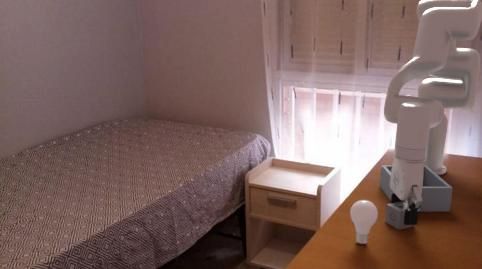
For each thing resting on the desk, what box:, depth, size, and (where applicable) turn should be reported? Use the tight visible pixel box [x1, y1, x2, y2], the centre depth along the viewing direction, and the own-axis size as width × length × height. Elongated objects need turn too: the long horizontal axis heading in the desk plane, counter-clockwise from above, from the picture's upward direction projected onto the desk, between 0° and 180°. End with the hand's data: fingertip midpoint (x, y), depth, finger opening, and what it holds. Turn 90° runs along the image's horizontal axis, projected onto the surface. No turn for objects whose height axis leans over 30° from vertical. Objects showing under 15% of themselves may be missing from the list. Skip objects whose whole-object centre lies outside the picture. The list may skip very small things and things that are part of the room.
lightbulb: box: [349, 199, 379, 245], centre depth 108 cm, size 6×6×11 cm
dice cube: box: [384, 201, 415, 231], centre depth 118 cm, size 5×5×5 cm
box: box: [379, 164, 454, 213], centre depth 133 cm, size 18×14×7 cm
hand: (403, 215), depth 117 cm, fingers open, 9 cm apart
